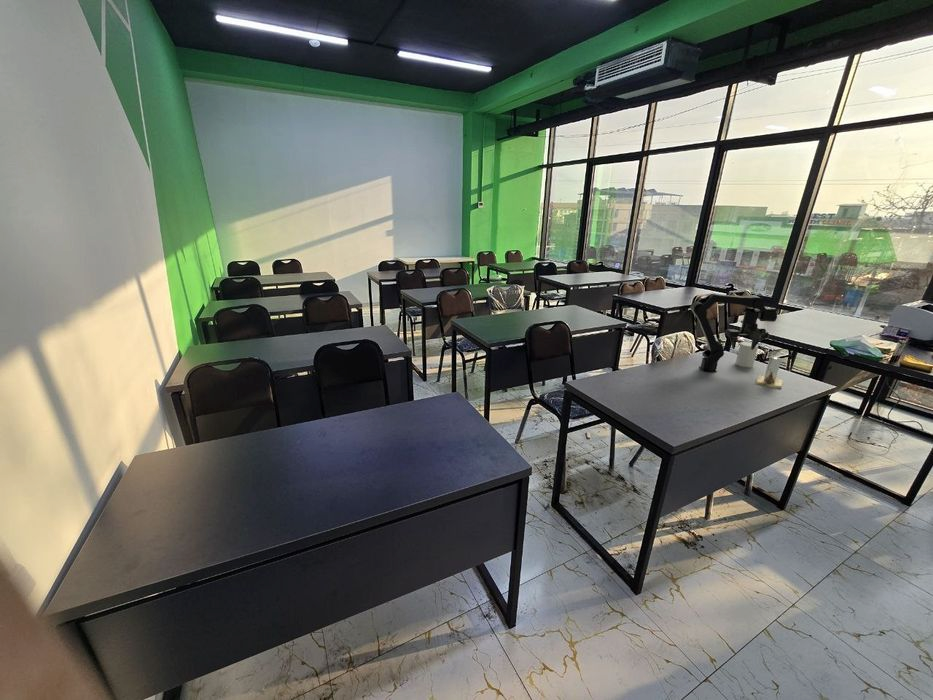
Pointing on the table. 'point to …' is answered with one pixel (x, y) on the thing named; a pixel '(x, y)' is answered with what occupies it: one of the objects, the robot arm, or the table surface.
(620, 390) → the table surface
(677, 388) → the table surface
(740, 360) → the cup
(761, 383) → the peg rack
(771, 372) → the silver metal cylinder
